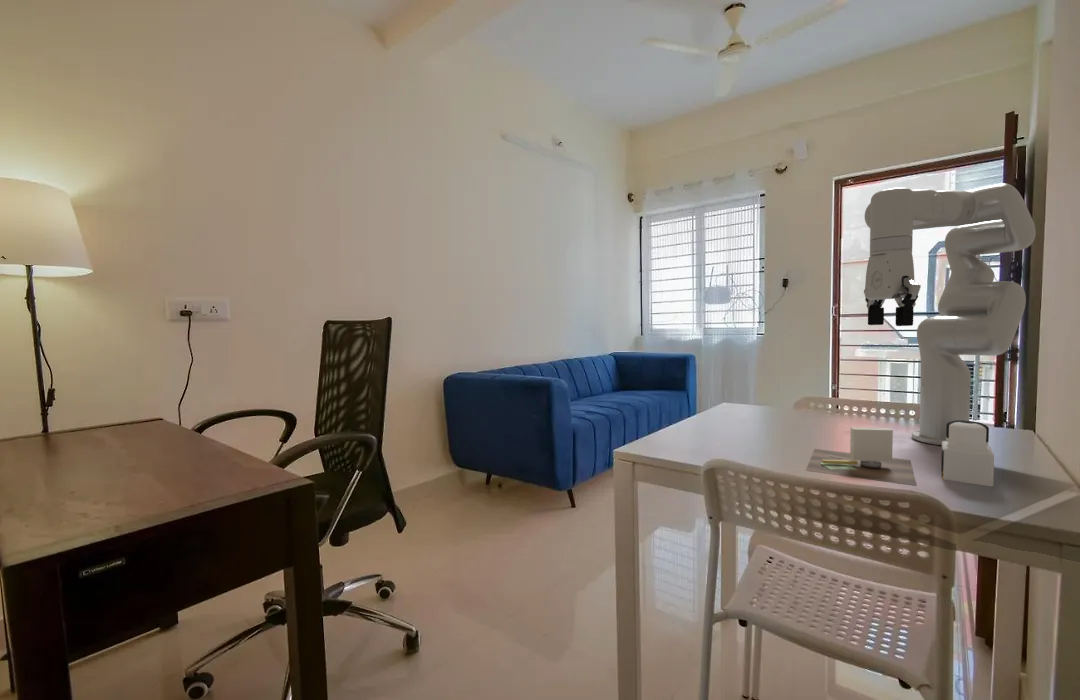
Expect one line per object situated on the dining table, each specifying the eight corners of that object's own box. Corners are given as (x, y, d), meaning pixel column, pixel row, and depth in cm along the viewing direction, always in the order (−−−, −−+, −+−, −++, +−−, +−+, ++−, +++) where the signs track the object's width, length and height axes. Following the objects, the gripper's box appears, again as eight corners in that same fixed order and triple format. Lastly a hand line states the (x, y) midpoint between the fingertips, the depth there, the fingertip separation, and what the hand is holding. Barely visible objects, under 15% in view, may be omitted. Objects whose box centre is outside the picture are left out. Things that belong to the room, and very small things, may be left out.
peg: (894, 469, 96) (894, 431, 96) (825, 467, 99) (826, 429, 99) (885, 464, 100) (886, 427, 99) (820, 462, 103) (820, 425, 102)
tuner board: (814, 453, 112) (814, 448, 112) (910, 465, 102) (910, 459, 102) (805, 475, 98) (805, 469, 98) (916, 492, 87) (916, 485, 87)
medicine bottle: (940, 474, 96) (942, 416, 95) (989, 481, 91) (991, 420, 91) (941, 485, 90) (943, 423, 90) (993, 493, 86) (995, 428, 85)
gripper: (850, 253, 112) (849, 325, 114) (898, 242, 95) (897, 326, 96) (883, 251, 112) (882, 324, 113) (938, 240, 95) (936, 325, 96)
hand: (889, 325), depth 105 cm, fingers open, 9 cm apart
